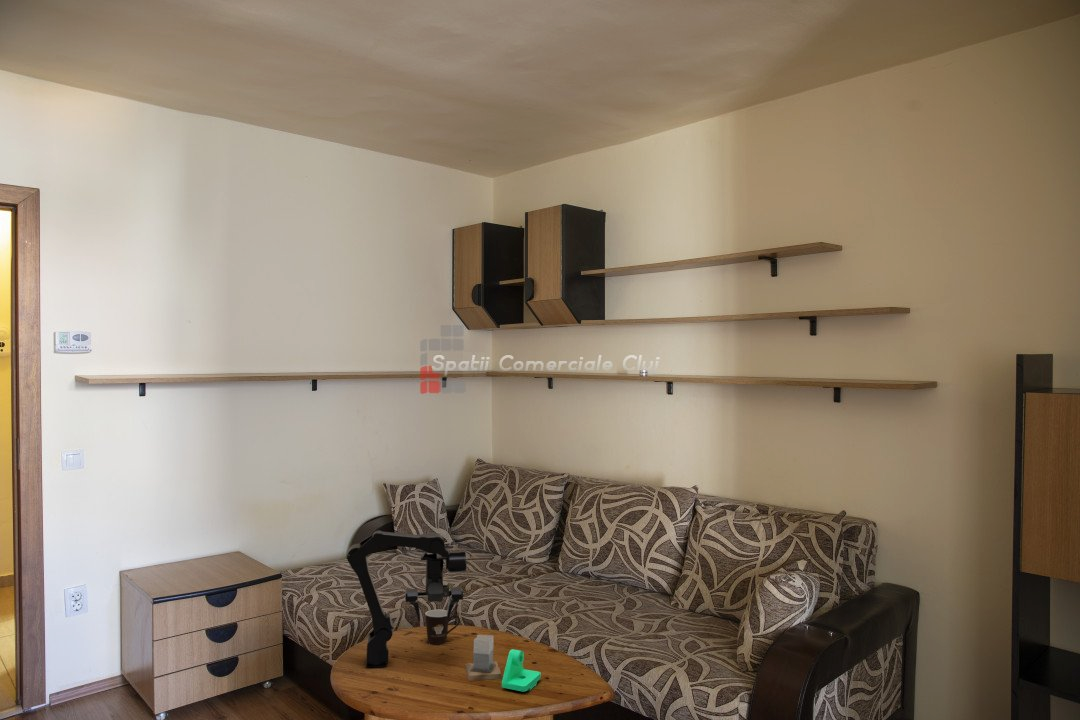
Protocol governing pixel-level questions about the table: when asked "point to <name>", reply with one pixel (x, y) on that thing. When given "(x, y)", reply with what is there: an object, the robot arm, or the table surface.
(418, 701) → the table surface
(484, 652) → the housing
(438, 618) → the coffee mug
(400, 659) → the table surface
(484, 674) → the stand
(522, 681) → the camera mount
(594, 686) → the table surface
